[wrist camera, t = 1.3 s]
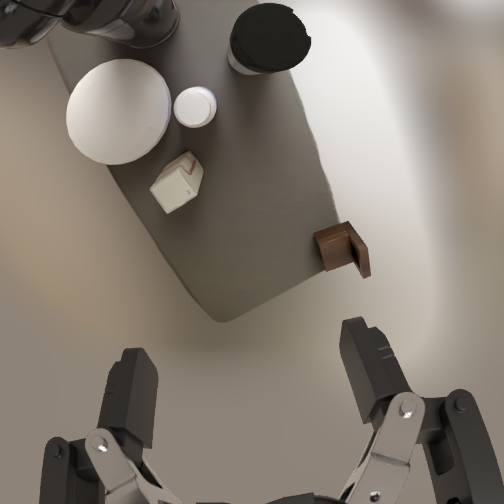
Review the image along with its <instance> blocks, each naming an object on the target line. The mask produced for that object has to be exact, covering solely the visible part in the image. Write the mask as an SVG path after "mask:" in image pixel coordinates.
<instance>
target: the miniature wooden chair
mask: <svg viewBox="0 0 504 504" xmlns="http://www.w3.org/2000/svg"><path fill="white" fill-rule="evenodd" d="M313 234H314V237H315V240H316V242H317V244H318V246H319V249H320V253H321V255H319V256H320V259H321V261H322V264H323V266H324V268H325V270H326V272H327V271H330V270H333V269H336V268H338V267H341V266H344V265H347V264H349V263H352V262H354V263H355V265H356V267H357V269H358V270H359V272H360V274H361V275H362V277H363V278H367V277H369V276H371V272H370V263H369V255H368V248H367V246H366V245H365V243H364V242H363V240H362V239H361V238H360V236H359V235H358V233H357V232H356V231H355V230H354V228H353V227H352V225H351V224H350V223H349V221H347V222H344V223H341V224H338V225H335V226H333V227H330V228H327V229H324V230H321V231H318V232H316V233H313Z"/></svg>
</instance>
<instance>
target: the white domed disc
mask: <svg viewBox="0 0 504 504" xmlns="http://www.w3.org/2000/svg"><path fill="white" fill-rule="evenodd" d="M171 105H172V103H171V97H170V92H169V89H168V87H167V85H166V83H165V80H164V78H163V77H162V76H161V75H160V74H159V73H158V72H157V71H156V70H155V69H154V68H153V67H151V66H149V65H147V64H146V63H144V62H142V61H137V60H133V59H115V60H112V61H109V62H106V63H103V64H100V65H99V66H97V67H96V68H94V69H93V70H91V71H89V72H88V73H87V74H86V75H85V76H84V77H83V78H82V79H81V81H80V82H79V83H78V84H77V86H76V87H75V89H74V91H73V93H72V94H71V97H70V100H69V103H68V107H67V119H66V123H67V127H68V132H69V135H70V137H71V139H72V141H73V143H74V145H75V146H76V147H77V148H78V149H79V151H80V152H81V153H82V154H84V155H85V156H87V157H88V158H90V159H92V160H93V161H95V162H99V163H103V164H107V165H117V164H124V163H128V162H131V161H135V160H137V159H138V158H140V157H142V156H143V155H145V154H147V153H148V152H149V151H150V150H151V149H152V148H153V147H154V146H155V145H156V144H157V143H158V142H159V140H160V139H161V137H162V136H163V134H164V133H165V131H166V128H167V126H168V123H169V120H170V116H171Z"/></svg>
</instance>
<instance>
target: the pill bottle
mask: <svg viewBox="0 0 504 504" xmlns="http://www.w3.org/2000/svg"><path fill="white" fill-rule="evenodd" d="M216 108H217V99H216V96H215V95H214V93H213V92H212V91H211V90H209V89H208V88H205V87H192V88H189V89H186V90H184V91H183V92H182V93H180V94H179V96H178V97H177V98H176V100H175V103H174V113H175V116H176V118H177V120H178V121H179V122H180V123H181V124H183V125H185V126H187V127H191V128H197V127H201V126H204V125H206V124H207V123H209V122H210V121H211V120H212V118H213V117H214V115H215V113H216Z"/></svg>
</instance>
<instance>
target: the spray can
mask: <svg viewBox="0 0 504 504" xmlns="http://www.w3.org/2000/svg"><path fill="white" fill-rule="evenodd" d="M310 46H311V37H310V36H308V35H307V33H306V28H305V26H304V24H303V23H302V22H301V20H300V19H299V18H298V17H297V16H296V15H295V14H293V9H291V8H290V7H287V6H285V5H282V4H276V3H263V4H258V5H255V6H253V7H251V8H249V9H247V10H246V11H244V12H243V13H242V14H241V15H240V16H239V17H238V19H237V20H236V22H235V24H234V27H233V30H232V32H231V35H230V41H229V46H228V51H227V57H228V61H229V63H230V65H231V66H232V67H233V68H234V69H235V70H236V71H238V72H240V73H242V74H245V75H258V74H267V73H275V72H279V71H284V70H288V69H291V68H293V67H295V66H296V65H297V64H299V63H300V62H301V61H303V59H304V58H305V57H306V55H307V54H308V51H309V49H310Z"/></svg>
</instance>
